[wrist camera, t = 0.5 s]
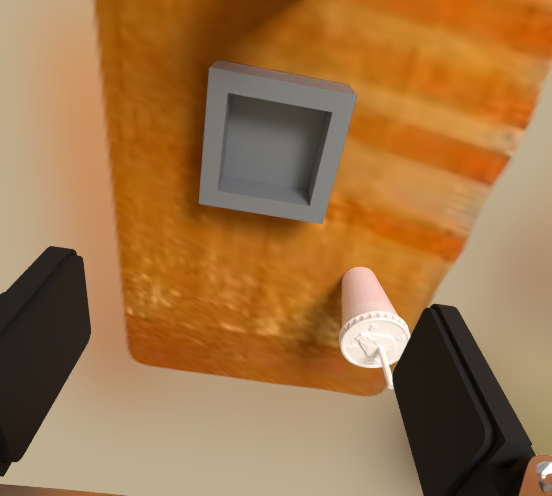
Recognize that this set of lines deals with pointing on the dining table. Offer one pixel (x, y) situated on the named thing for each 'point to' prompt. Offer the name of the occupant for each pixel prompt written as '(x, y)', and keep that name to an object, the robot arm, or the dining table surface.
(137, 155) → the dining table surface
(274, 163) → the socket holder
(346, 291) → the smoothie
